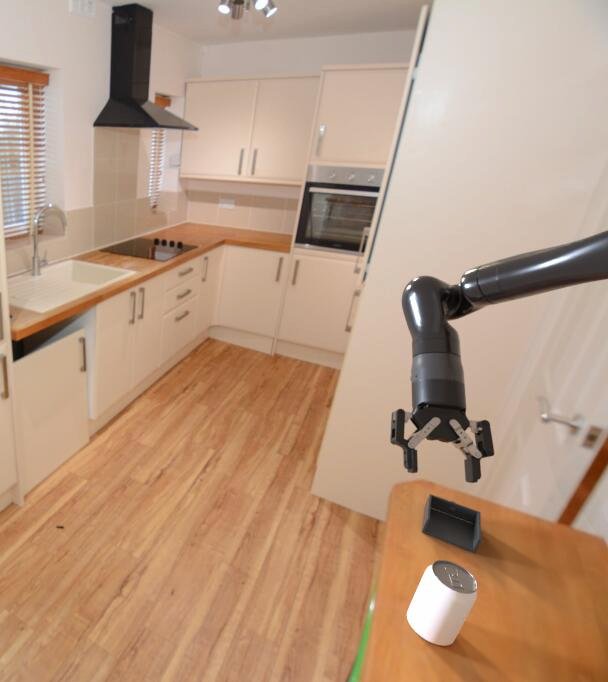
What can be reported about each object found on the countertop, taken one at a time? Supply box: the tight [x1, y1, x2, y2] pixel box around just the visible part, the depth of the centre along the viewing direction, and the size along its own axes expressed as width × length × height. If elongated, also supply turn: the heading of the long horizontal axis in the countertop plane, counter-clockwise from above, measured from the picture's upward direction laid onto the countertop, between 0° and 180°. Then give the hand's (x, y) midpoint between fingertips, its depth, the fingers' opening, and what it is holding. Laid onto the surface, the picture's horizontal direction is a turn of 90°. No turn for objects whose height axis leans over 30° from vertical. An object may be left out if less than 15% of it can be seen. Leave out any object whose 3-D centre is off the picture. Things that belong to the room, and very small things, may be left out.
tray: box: [421, 493, 482, 554], centre depth 91 cm, size 10×8×4 cm
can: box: [406, 559, 479, 647], centre depth 71 cm, size 6×6×12 cm
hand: (441, 477), depth 75 cm, fingers open, 8 cm apart
